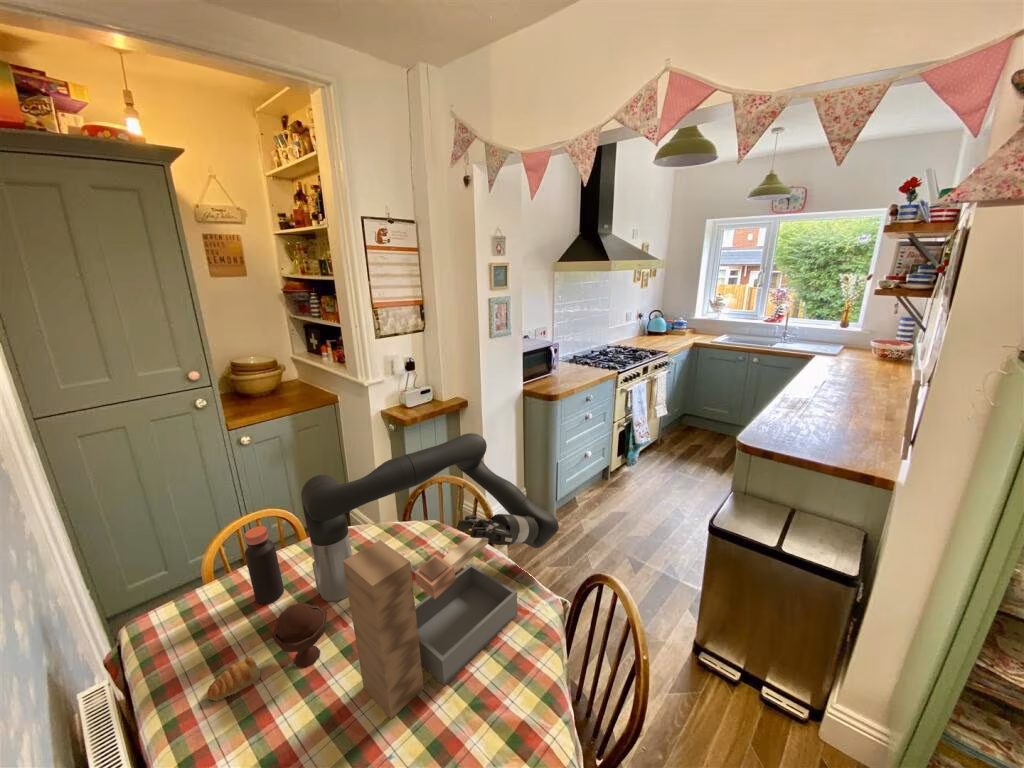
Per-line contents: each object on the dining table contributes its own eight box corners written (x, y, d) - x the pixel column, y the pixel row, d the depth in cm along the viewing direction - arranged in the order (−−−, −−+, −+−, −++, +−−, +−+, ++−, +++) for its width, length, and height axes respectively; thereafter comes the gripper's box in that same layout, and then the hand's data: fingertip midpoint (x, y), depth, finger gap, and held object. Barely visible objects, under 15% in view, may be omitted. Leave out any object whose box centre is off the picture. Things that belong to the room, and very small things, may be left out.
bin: (472, 584, 117) (471, 563, 115) (517, 614, 107) (516, 592, 105) (399, 644, 99) (396, 620, 97) (444, 686, 89) (442, 661, 87)
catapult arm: (475, 535, 106) (473, 522, 104) (492, 546, 102) (491, 533, 100) (417, 584, 94) (414, 570, 92) (434, 599, 90) (432, 585, 88)
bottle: (289, 591, 116) (276, 529, 110) (264, 609, 110) (249, 543, 104) (275, 582, 119) (262, 520, 113) (250, 598, 114) (234, 534, 108)
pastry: (214, 712, 86) (209, 698, 84) (204, 691, 90) (200, 677, 89) (264, 678, 92) (260, 664, 91) (253, 660, 97) (249, 647, 95)
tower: (395, 660, 95) (379, 539, 86) (423, 688, 89) (410, 561, 80) (363, 687, 90) (342, 561, 80) (391, 719, 83) (372, 586, 74)
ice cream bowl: (343, 643, 100) (334, 591, 96) (307, 687, 90) (295, 631, 86) (307, 631, 103) (297, 580, 99) (268, 672, 93) (255, 617, 89)
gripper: (493, 505, 116) (450, 502, 103) (534, 525, 107) (493, 524, 94) (484, 532, 115) (439, 532, 102) (525, 555, 106) (482, 558, 93)
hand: (465, 528), depth 98 cm, fingers open, 4 cm apart
